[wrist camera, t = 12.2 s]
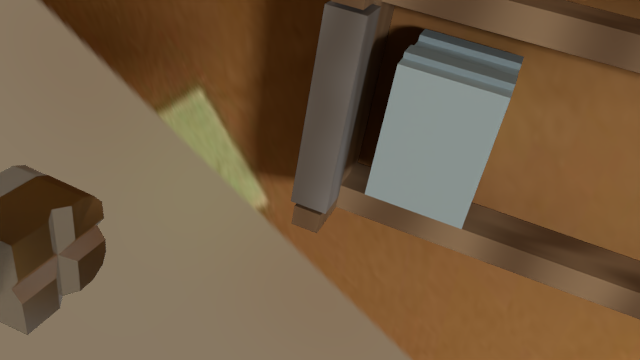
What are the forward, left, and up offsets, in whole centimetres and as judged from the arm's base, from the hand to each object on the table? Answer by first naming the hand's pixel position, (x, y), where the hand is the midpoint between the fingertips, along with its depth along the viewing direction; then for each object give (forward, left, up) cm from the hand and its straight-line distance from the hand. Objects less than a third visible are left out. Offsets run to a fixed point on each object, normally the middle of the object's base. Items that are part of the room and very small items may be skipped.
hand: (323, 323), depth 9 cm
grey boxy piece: (+1, +6, -24) cm, 25 cm away
